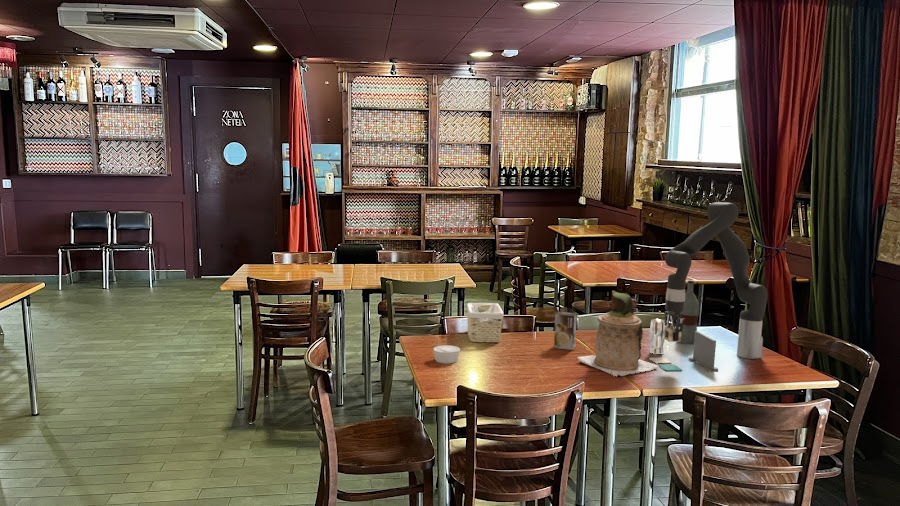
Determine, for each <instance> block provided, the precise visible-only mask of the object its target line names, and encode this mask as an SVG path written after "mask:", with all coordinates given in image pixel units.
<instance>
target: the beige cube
mask: <svg viewBox="0 0 900 506" xmlns="http://www.w3.org/2000/svg"><path fill="white" fill-rule="evenodd" d="M675 329H676V327H675ZM664 340H665V341H668V342H669V343H674V342H675V343H676V342H677V343H680V342H681V332H679V338H678V341H673V327H665V331H664Z"/></svg>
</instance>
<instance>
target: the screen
mask: <svg viewBox="0 0 900 506" xmlns="http://www.w3.org/2000/svg"><path fill="white" fill-rule="evenodd" d="M716 348H717V340H715V339H714V338H712V337H710V336H709V335H706V334H705V333H703V332H701V331H699V330H697V331H695V338H694V344H693V353H692V357H688V360H689V361H690V360H691V361H690V362H695V363H697V362H698V363H697V364H699V365H700V364H701V365H700V366H701V367H704V368H703V369H704V371H706V372H719V368H718V367H715V360H716Z"/></svg>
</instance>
